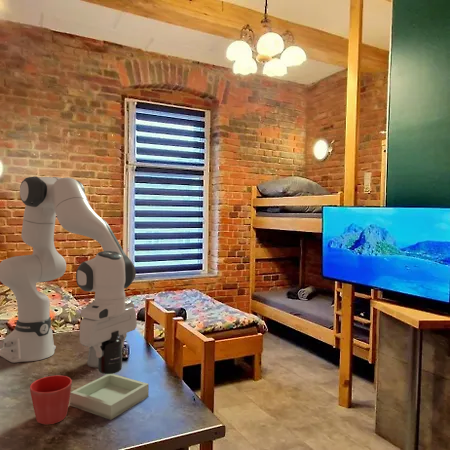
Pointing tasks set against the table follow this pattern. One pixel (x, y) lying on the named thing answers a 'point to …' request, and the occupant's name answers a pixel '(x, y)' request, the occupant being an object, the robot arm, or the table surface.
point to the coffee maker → (92, 358)
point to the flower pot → (51, 398)
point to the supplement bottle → (111, 355)
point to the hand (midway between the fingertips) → (110, 352)
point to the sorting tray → (109, 395)
